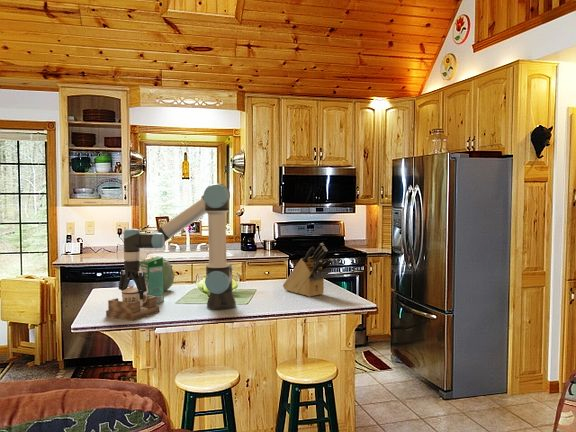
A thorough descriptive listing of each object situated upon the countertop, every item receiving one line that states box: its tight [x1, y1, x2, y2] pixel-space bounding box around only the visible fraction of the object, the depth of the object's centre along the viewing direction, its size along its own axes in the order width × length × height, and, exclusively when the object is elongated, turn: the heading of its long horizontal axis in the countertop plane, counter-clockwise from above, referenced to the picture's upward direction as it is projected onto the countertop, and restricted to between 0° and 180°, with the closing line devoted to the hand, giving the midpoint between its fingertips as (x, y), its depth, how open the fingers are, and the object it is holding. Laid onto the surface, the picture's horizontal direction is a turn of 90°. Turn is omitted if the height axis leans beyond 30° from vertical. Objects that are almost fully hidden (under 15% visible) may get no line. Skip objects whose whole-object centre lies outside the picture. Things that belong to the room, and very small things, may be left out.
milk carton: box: [139, 255, 165, 304], centre depth 278 cm, size 9×9×25 cm
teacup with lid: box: [121, 284, 147, 308], centre depth 250 cm, size 12×9×12 cm
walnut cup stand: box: [105, 295, 160, 321], centre depth 250 cm, size 17×19×8 cm
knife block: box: [282, 242, 333, 298], centre depth 296 cm, size 11×35×31 cm, turn 36°
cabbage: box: [163, 258, 176, 292], centre depth 307 cm, size 16×19×20 cm
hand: (132, 304), depth 250 cm, fingers closed on teacup with lid, 9 cm apart
